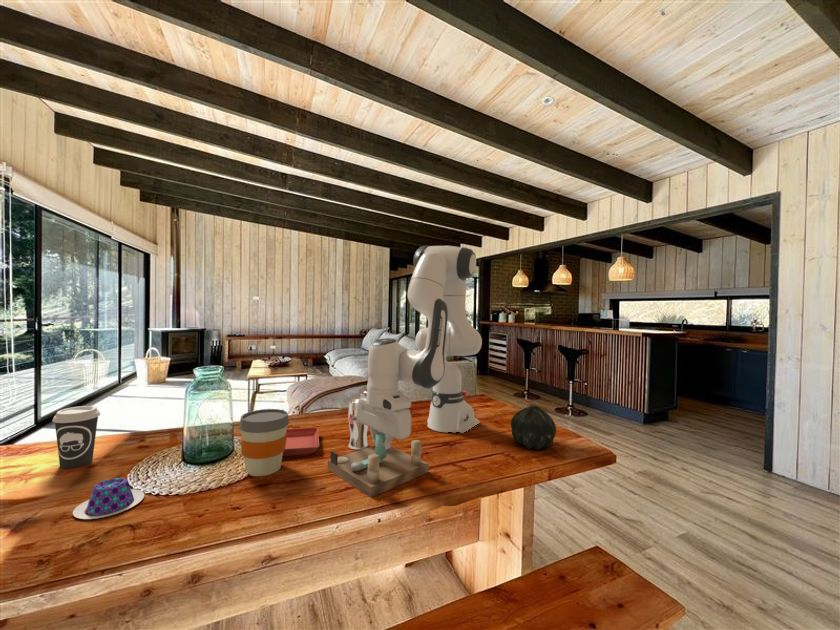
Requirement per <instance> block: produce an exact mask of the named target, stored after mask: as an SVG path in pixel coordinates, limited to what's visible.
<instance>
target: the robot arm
mask: <svg viewBox="0 0 840 630" xmlns="http://www.w3.org/2000/svg"><path fill="white" fill-rule="evenodd" d="M476 267H477V257H476V253H475V252H474V251H473V249H471V248H468V247H461V246H455V245H454V246H453V245H423V246H419V248H418V249H416V251H415V253H414V255H413V268H414V270H413V272H412V276H411V279H410V281H409V284H408V288H407V289H408V290H407V300H408V302H409V304H410V306H411V307H412V308H413V309H414V310H415V311H416V312H418V313H420V314H422V315H424V316H425V318H426V320H427V327H423V328H420V329H419V330H418V332H417V333H416V335H415V340H414V343H415V346H416V348H417V350H416V349H412V348H411V349H410V348H407V347H404V346H403V345H402V344H400V343H399V342H398V340H397V339H395V338H391V337H385V338H378V339H376V340H373V342H371V343H370V347H369V350H368V357H367V374H368V381H367V383H366V384H367V385H366V390H364V391H362V392H361V393H360V394H359V398H360V399H359V398H358V399H359V401H358V406H357V416H356V417H357V421H358V422H359V423H362V424H364V425H366V426H368V428H369V432H370V435H371V442H372V444H374V445H375V441H376V433H377V432H378V431H380V432H383V433H385V437H386V439H385V441H383V442H382V444H383V446H382V447H383V448H385V449H389V448H390V447H391V445H392V444H391V443H392V441H393V439H394V438H395V439H397V440H404V439H407V438H409V437H410V435H411V433H412V415H411V414H412V413H411V411H410V409H409V408H411V407H412V401H411V399H410V398H409V397H407V396H406V395H405V394H404V393H403V392H402V391H401V390H399V385H400V384H399V381H402V382H405V383H408V384H413V385H416V386H418V387H422V388H425V389H431V393H430V394H431V397H430V399H431V402H430V407H429V414H428V418H427V425H426V426H427V428H428V429H431V430H432V431H435V432H441V433H448V432H452V433H456V432H460V433H459V434H465V433H464V432H466V431H467V432H468V430H469V429H470V430H472V429H473V428H472V427H474V426H475V425H477V424H479V423H480V424H481V421H480V420H479V419H477V418H475V411H474V408H473V407H472V405H470V404H469V403H467V401H465V398H464V397H468V395H469V392H468V391H466V390H462V371H461V369H460V368H458V367H457V366H456V365H454V364H452V363H451V362H449V361H448V360H447V357H448V356H452V357H453V356H455V357H456V356H457V357H458V356H459V357H460V356H461V357H466V356H474V355H476V354H478V353H479V352H480V350H481V349H482V345H483V343H482V342H483V339H482V336H481V334H480V332H479V331H478V330H477V329H475V327H473V326H472V324H471V323H470V321H469V319H468V316H467V313H466V295H467V294H466V293H467V291H466V290H467V281H466V280H467V279H469V278H471V276H473V275H474V272H475V271H476ZM448 322H449V323H450V325H451V326H449V327H448ZM480 424H479V425H480ZM477 426H478V425H477ZM475 427H476V426H475ZM475 427H474V428H475ZM471 428H472V429H471ZM470 430H469V431H470ZM467 432H466V433H467Z"/></svg>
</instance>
